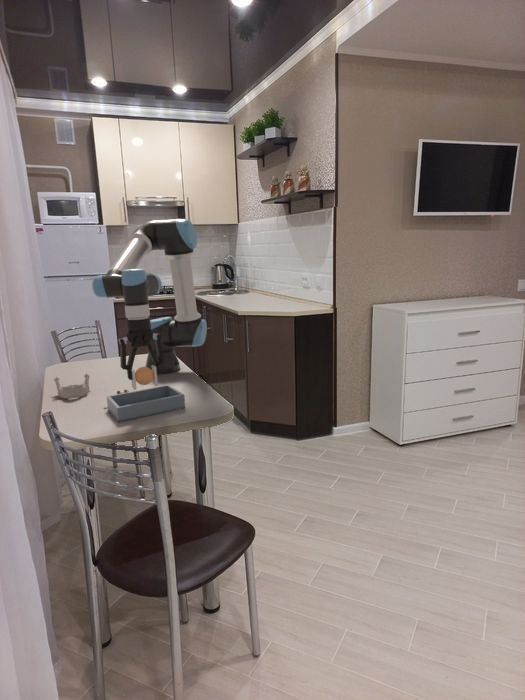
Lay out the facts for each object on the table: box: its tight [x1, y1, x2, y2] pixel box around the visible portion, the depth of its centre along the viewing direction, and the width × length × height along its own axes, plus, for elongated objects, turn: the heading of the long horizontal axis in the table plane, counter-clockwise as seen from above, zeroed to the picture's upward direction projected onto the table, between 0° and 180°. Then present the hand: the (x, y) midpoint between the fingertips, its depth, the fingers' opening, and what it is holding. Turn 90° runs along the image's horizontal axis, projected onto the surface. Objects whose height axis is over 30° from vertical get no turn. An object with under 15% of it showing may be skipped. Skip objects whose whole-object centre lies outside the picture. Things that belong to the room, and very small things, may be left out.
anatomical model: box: [53, 373, 91, 400], centre depth 172 cm, size 13×11×10 cm
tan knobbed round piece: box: [116, 388, 130, 394], centre depth 164 cm, size 4×4×3 cm
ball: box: [135, 366, 153, 386], centre depth 151 cm, size 6×6×6 cm
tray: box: [106, 384, 186, 423], centre depth 154 cm, size 22×15×5 cm
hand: (145, 386), depth 152 cm, fingers open, 6 cm apart
